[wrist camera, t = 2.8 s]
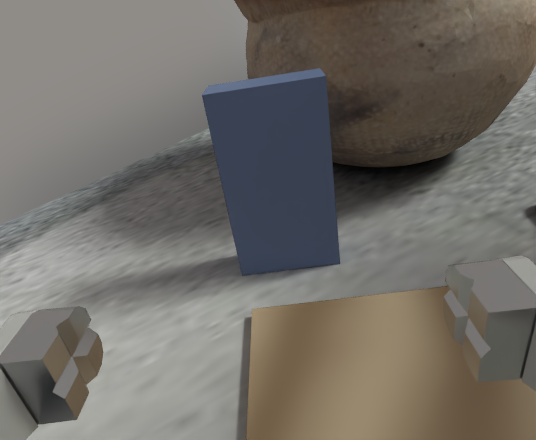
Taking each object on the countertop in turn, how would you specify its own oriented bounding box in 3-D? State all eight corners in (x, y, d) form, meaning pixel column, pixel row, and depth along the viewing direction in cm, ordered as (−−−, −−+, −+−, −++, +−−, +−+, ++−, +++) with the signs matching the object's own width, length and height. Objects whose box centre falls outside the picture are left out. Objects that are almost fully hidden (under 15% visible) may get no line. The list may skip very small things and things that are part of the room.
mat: (597, 275, 18) (599, 268, 18) (1143, 728, 7) (1165, 722, 7) (253, 315, 19) (252, 309, 19) (235, 763, 8) (231, 759, 8)
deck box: (334, 242, 24) (320, 68, 19) (340, 263, 22) (326, 75, 17) (244, 253, 24) (208, 85, 20) (242, 275, 22) (201, 95, 18)
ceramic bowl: (599, 180, 26) (680, -115, 19) (266, 231, 26) (220, -35, 19) (447, 104, 45) (457, -54, 38) (257, 134, 46) (233, -16, 39)
